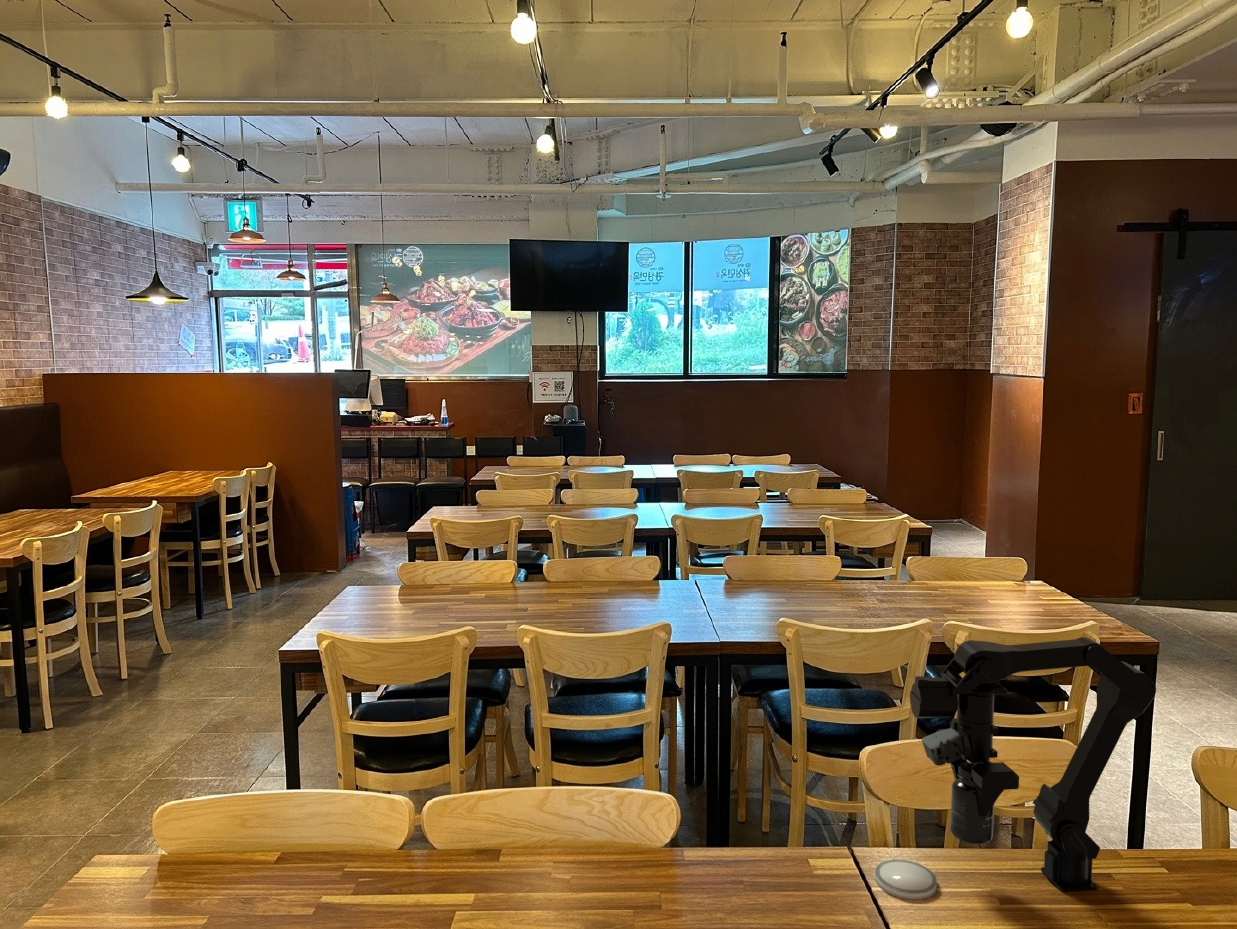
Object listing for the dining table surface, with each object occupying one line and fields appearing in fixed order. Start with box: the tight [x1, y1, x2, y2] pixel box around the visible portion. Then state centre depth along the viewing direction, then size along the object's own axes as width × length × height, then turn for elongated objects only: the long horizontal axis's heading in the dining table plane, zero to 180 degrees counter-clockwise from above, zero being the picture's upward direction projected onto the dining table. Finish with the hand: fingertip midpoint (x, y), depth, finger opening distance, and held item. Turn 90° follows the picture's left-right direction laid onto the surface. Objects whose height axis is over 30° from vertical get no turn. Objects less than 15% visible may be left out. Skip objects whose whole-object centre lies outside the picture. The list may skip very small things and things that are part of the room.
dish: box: [874, 859, 938, 901], centre depth 147 cm, size 10×10×1 cm
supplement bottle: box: [949, 762, 995, 845], centre depth 147 cm, size 7×7×12 cm
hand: (972, 805), depth 147 cm, fingers closed on supplement bottle, 7 cm apart
